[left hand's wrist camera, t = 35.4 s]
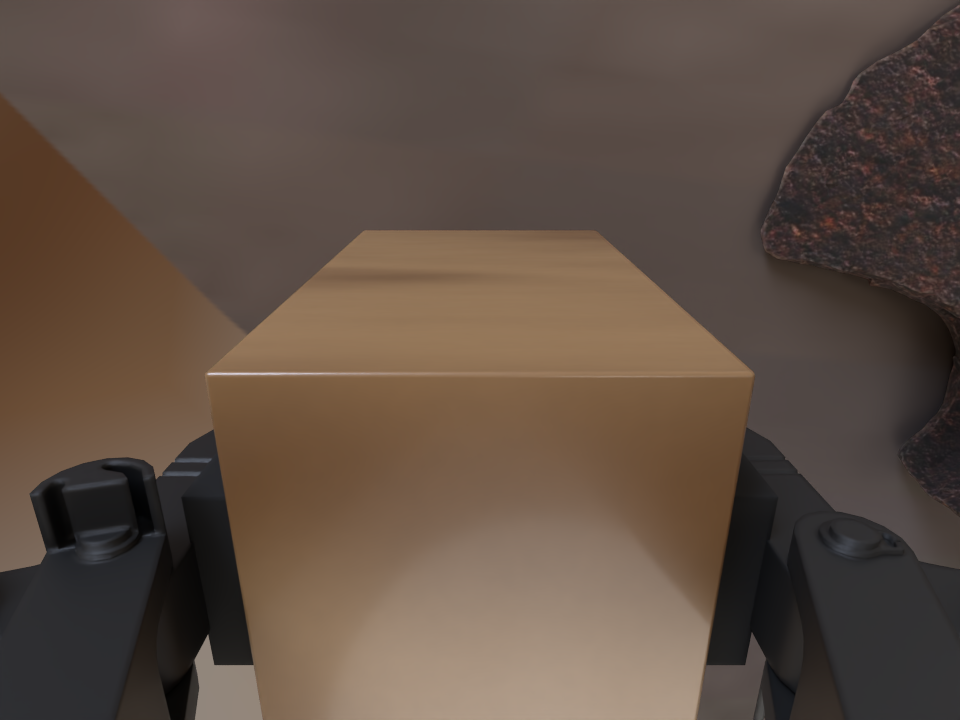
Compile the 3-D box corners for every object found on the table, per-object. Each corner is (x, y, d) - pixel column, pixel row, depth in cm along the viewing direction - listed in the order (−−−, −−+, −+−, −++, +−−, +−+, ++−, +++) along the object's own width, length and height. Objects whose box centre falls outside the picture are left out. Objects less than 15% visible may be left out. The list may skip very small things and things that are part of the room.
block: (582, 444, 18) (689, 773, 9) (377, 444, 18) (270, 773, 9) (596, 230, 15) (757, 373, 6) (363, 230, 15) (201, 372, 6)
